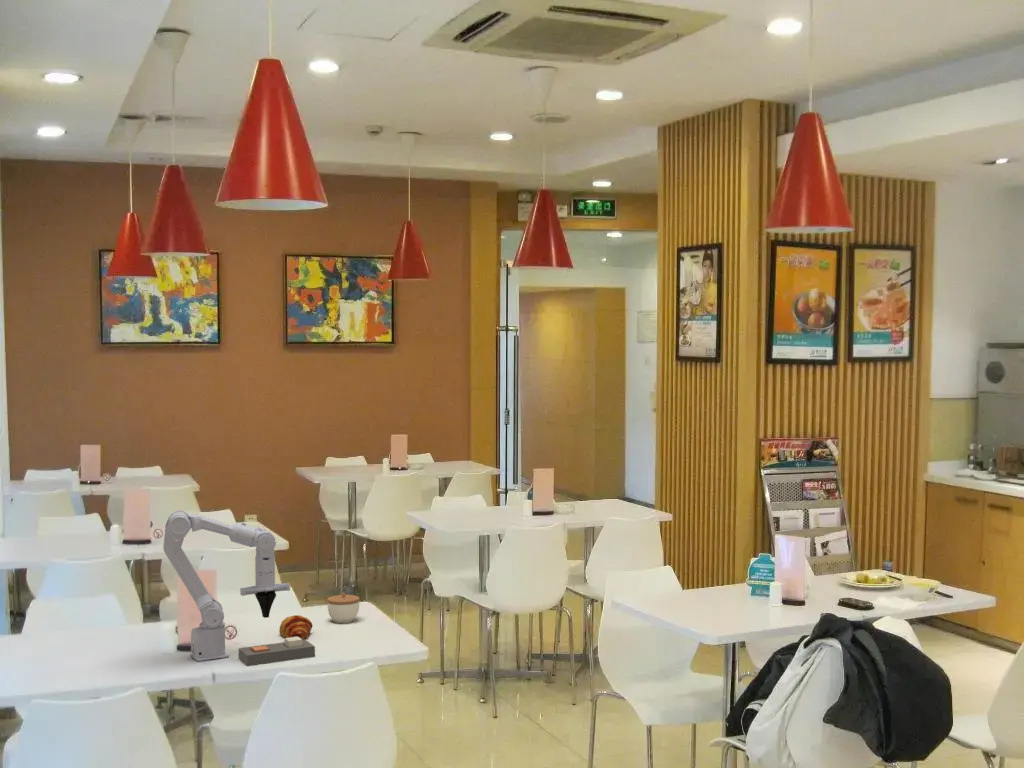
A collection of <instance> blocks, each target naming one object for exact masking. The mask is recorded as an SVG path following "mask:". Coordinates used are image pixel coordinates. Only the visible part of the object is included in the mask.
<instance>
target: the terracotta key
mask: <svg viewBox="0 0 1024 768" xmlns="http://www.w3.org/2000/svg"><path fill="white" fill-rule="evenodd" d="M256 646H257V647H252V646H250V647H251V650H252V651H253V652H254V653H255V652H262V651H269V648H267V647H266V646H260V645H256Z"/></svg>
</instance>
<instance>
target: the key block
mask: <svg viewBox="0 0 1024 768" xmlns="http://www.w3.org/2000/svg"><path fill="white" fill-rule="evenodd" d="M257 646H258V645H253V646H247V647H246V646H245V647H238V659H239V660H240V661H241V662H242V663H243V664H244V665H245V666H246V667H250V666H257V665H258V666H259V665H264V664H270V663H279V662H285V661H293V660H299V659H306V658H312V657H313V658H314V657H315V656H316V646H315V645H314V644H312V643H311V642H310V641H308V640H306V639H302V646H299V647H292V648H287V647H286V646H285V641H284V642H276V643H270V644H269V643H268V644H262V645H260V644H259V646H266V647H267V648H269V651H262V652H255V653H254V652H253V651H252V650H251V647H257Z"/></svg>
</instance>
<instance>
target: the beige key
mask: <svg viewBox="0 0 1024 768" xmlns="http://www.w3.org/2000/svg"><path fill="white" fill-rule="evenodd" d="M302 640H303V639H301V638H299V637H290V638H285V637H284V642H285V646H286V647H287V648H292V647H299V646H302Z"/></svg>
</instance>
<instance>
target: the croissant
mask: <svg viewBox="0 0 1024 768" xmlns="http://www.w3.org/2000/svg"><path fill="white" fill-rule="evenodd" d="M312 628H313V623H312V622H311V620H310V619H309V618H308V617H306V616H303V615H300V614H299V615H298V614H297V615H291V616H287V617H285V618H284V619H283V620H282V621H281V623H280V625H279V634H280V635H282V636H283V637H284V638H285V637H286V638H290V637H299V638H301V639H302V640H306V638H307V637H309V635H310V634H311V631H312Z"/></svg>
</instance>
